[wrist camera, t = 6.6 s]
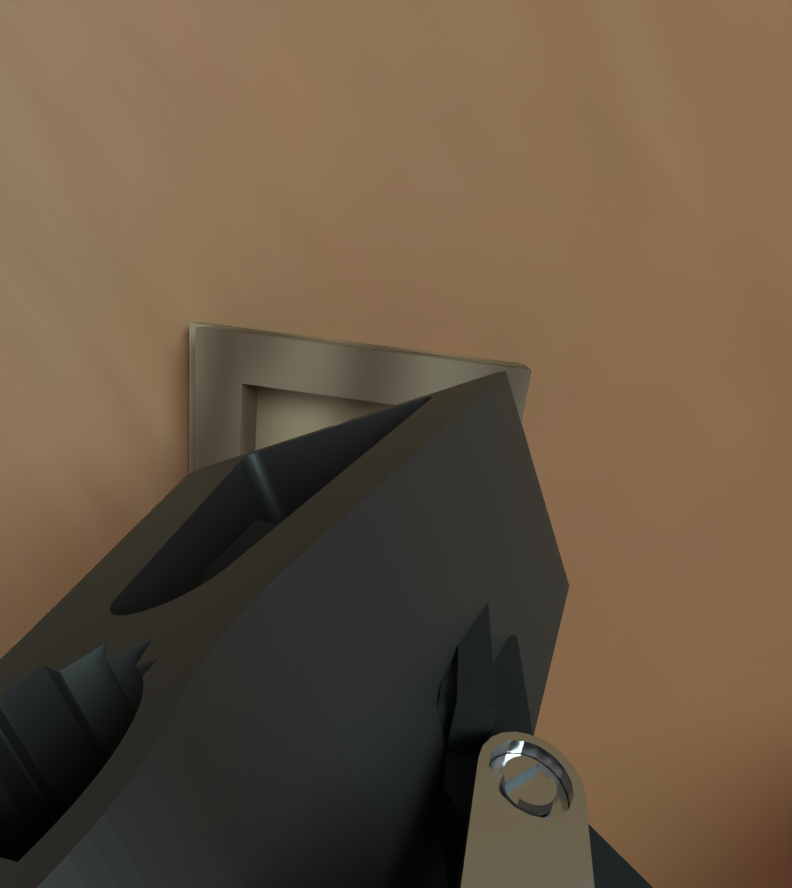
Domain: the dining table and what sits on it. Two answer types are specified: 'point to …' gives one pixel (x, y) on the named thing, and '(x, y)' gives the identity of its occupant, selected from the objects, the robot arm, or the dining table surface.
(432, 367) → the board
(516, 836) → the robot arm
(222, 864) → the phone stand
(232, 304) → the dining table surface
